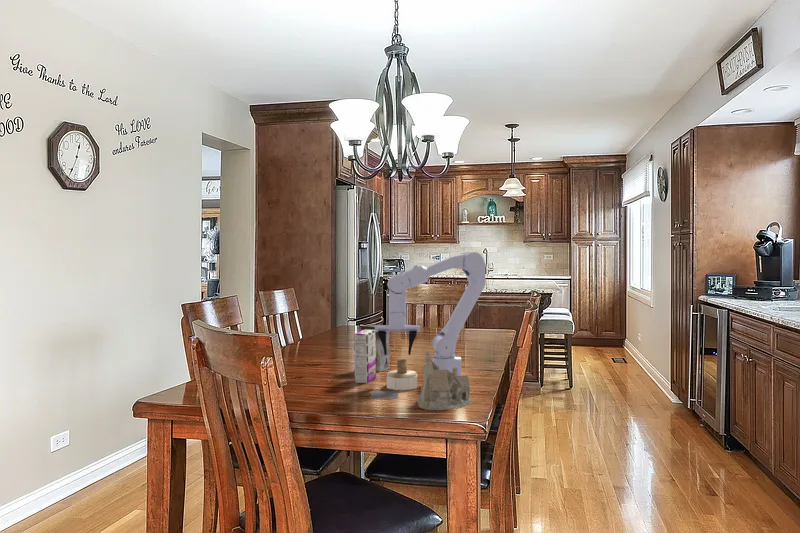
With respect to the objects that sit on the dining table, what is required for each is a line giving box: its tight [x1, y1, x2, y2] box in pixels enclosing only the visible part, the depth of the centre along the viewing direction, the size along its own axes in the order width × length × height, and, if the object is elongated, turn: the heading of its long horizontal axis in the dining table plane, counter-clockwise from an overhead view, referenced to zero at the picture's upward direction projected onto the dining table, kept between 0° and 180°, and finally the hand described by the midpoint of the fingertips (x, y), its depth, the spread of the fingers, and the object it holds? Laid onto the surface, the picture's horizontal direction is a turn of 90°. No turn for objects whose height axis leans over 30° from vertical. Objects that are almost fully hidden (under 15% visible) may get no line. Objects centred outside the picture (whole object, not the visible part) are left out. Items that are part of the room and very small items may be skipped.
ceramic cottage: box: [416, 350, 472, 411], centre depth 168 cm, size 16×16×15 cm
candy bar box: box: [353, 330, 377, 384], centre depth 200 cm, size 11×5×16 cm, turn 168°
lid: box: [386, 358, 418, 378], centre depth 189 cm, size 9×9×5 cm
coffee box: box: [360, 323, 390, 373], centre depth 220 cm, size 9×6×16 cm
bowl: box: [386, 375, 418, 391], centre depth 189 cm, size 10×10×4 cm
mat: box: [369, 390, 399, 400], centre depth 178 cm, size 8×10×1 cm
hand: (397, 354), depth 193 cm, fingers open, 7 cm apart
